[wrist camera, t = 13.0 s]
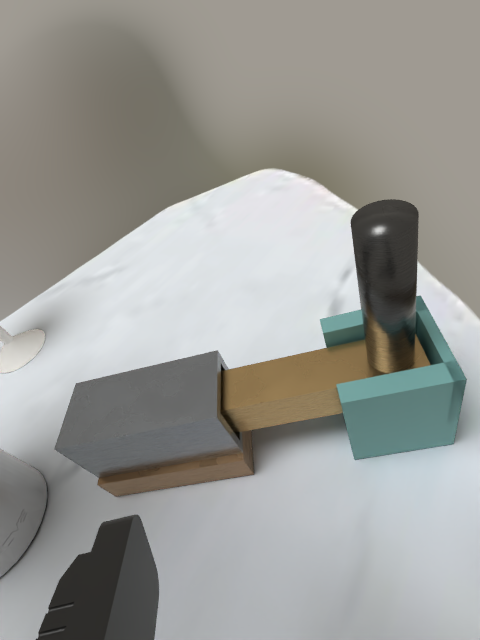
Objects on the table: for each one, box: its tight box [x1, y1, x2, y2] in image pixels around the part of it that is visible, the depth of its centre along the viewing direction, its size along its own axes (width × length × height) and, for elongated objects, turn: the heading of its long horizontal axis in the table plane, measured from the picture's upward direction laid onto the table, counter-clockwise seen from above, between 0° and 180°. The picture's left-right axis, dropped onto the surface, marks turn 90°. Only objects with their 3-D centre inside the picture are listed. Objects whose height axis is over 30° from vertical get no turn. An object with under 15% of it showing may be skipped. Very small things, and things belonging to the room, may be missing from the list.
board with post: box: [220, 200, 430, 433], centre depth 21 cm, size 14×3×12 cm, turn 92°
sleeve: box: [55, 351, 254, 496], centre depth 27 cm, size 11×6×8 cm, turn 92°
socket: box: [320, 296, 467, 460], centre depth 24 cm, size 6×6×8 cm
